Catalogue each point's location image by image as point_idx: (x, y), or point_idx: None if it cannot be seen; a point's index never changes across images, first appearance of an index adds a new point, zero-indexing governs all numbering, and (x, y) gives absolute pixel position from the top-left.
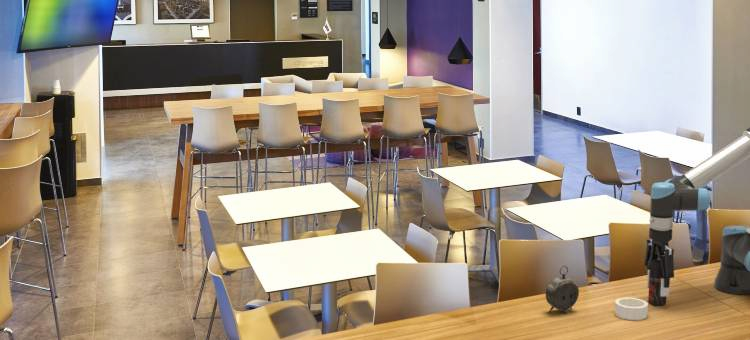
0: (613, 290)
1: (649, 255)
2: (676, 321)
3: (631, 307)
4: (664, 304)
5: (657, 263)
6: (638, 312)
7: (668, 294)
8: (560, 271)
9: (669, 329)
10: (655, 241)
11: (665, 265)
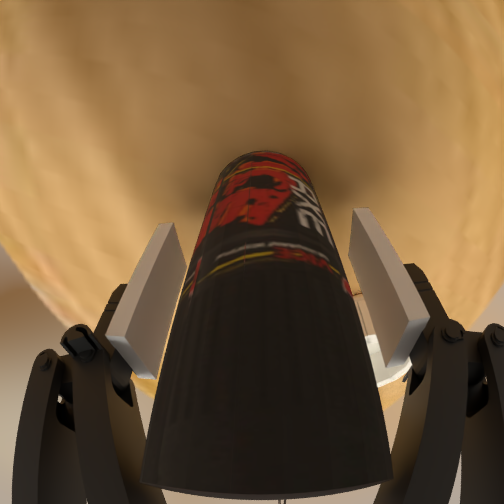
0: (91, 298)
1: (71, 478)
2: (476, 222)
3: (403, 371)
4: (309, 179)
5: (321, 495)
6: None
7: (370, 214)
8: (285, 499)
9: (494, 271)
10: None
11: (466, 470)
